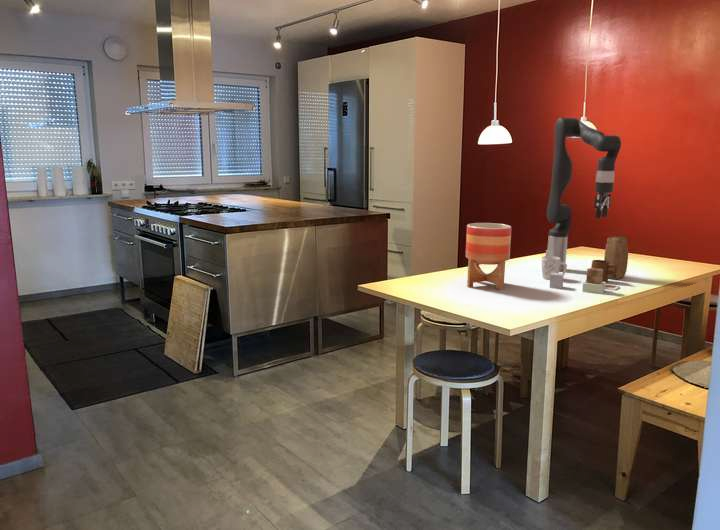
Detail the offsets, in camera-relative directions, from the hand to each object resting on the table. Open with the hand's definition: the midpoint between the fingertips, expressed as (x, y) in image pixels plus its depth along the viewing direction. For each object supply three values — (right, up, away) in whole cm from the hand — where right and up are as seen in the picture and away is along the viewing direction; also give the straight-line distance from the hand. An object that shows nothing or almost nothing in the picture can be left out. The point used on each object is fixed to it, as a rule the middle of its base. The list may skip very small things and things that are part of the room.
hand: (601, 217), depth 259 cm
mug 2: (+4, -29, +8) cm, 31 cm away
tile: (+2, -31, -4) cm, 32 cm away
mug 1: (-17, -28, +13) cm, 36 cm away
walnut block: (-8, -29, -11) cm, 32 cm away
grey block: (-22, -31, -4) cm, 38 cm away
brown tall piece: (+14, -28, +17) cm, 35 cm away
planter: (-52, -31, -1) cm, 61 cm away
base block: (-8, -33, -10) cm, 35 cm away
